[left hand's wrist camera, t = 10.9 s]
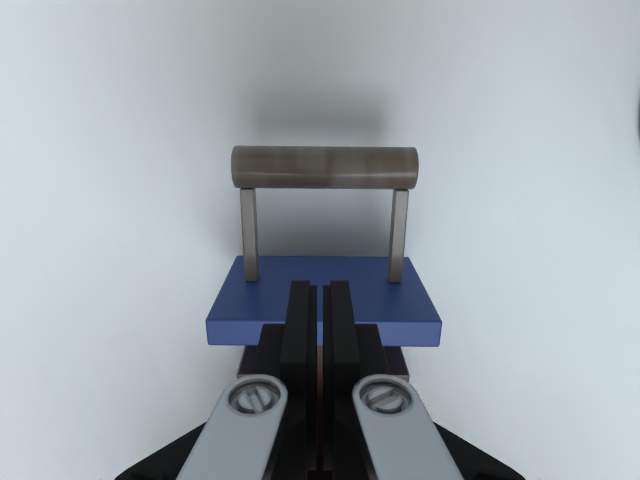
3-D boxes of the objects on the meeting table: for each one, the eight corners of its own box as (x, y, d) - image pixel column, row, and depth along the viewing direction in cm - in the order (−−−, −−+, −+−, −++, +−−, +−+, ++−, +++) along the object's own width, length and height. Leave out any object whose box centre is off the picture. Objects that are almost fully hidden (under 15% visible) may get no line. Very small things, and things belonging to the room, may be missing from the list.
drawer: (229, 137, 21) (189, 160, 14) (419, 139, 21) (462, 162, 14) (248, 448, 27) (227, 556, 21) (392, 449, 27) (413, 557, 21)
